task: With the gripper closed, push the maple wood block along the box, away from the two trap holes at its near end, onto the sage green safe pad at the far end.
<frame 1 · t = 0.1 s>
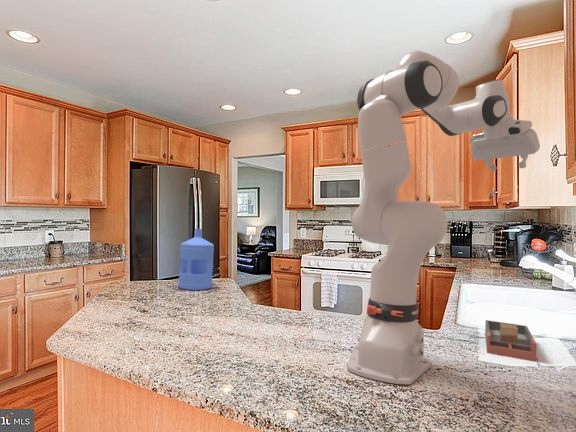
hand: (507, 169, 122), 54 cm above the counter, tool tilted 30°, fingers open, 8 cm apart
maple block: (508, 340, 103), point 2 cm above the counter, touching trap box
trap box: (507, 346, 104), on the counter
water jug: (195, 288, 172), on the counter
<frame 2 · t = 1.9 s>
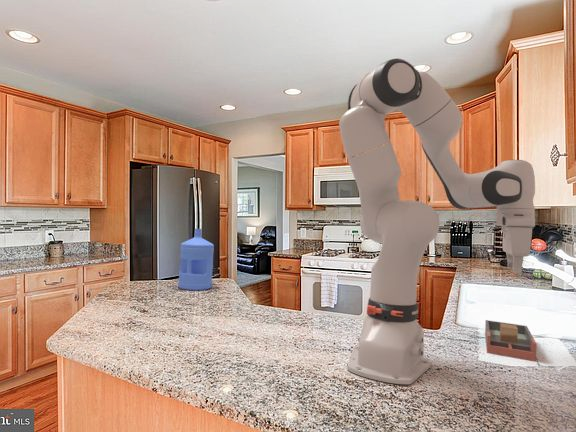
hand: (514, 270, 98), 22 cm above the counter, tool pointing down, fingers open, 8 cm apart
nothing on the counter moved.
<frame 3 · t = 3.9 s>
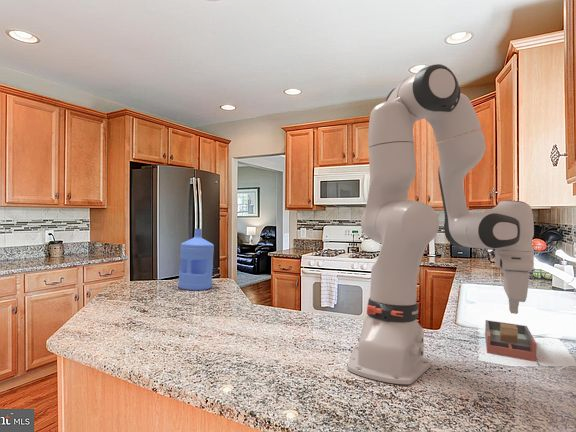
hand: (513, 312, 97), 11 cm above the counter, tool pointing down, fingers closed
nothing on the counter moved.
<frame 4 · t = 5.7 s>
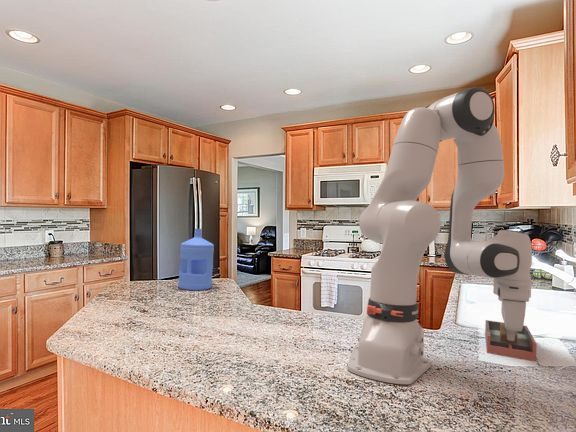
hand: (510, 339, 99), 3 cm above the counter, tool pointing down, fingers closed
maple block: (508, 339, 103), point 2 cm above the counter, touching gripper
everything else where it was.
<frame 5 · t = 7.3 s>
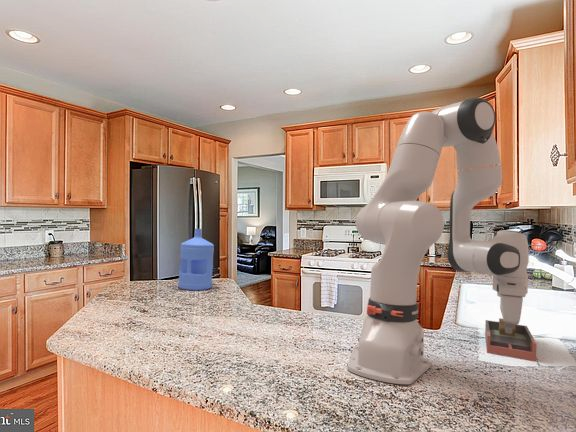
hand: (508, 332, 106), 3 cm above the counter, tool pointing down, fingers closed
maple block: (506, 333, 109), point 2 cm above the counter, touching gripper, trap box
everything else where it was.
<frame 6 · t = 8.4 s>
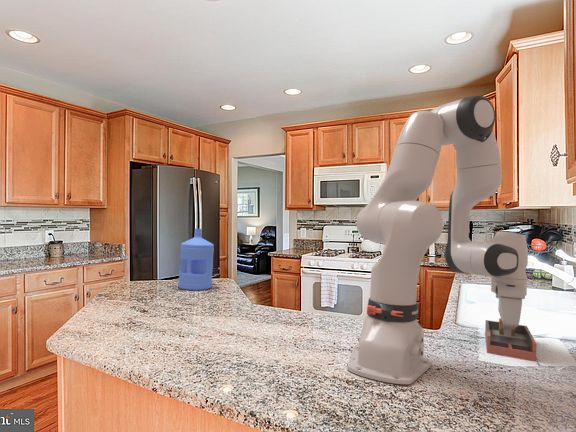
hand: (506, 335, 104), 3 cm above the counter, tool pointing down, fingers closed
maple block: (506, 333, 109), point 2 cm above the counter, touching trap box
everything else where it was.
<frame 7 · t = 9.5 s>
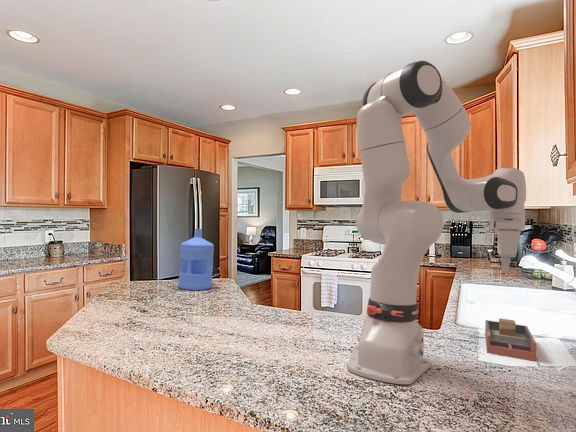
hand: (505, 271, 105), 21 cm above the counter, tool pointing down, fingers closed
nothing on the counter moved.
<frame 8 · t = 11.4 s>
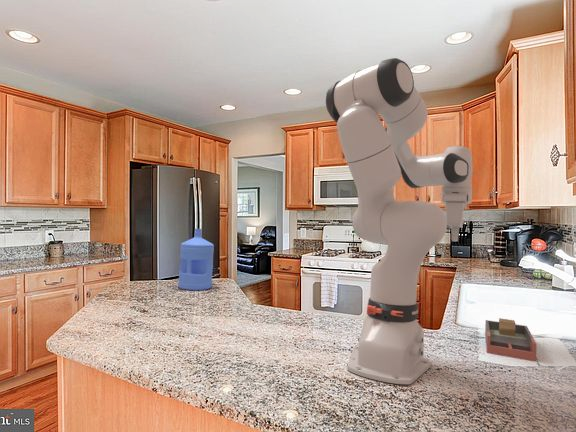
hand: (454, 241, 115), 29 cm above the counter, tool pointing down, fingers closed
nothing on the counter moved.
at the end: maple block 0.1 cm from the target spot, point 2.0 cm above the counter; maple block tilted 0° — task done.
